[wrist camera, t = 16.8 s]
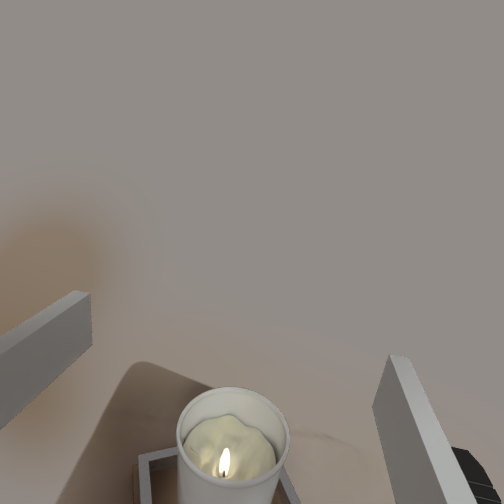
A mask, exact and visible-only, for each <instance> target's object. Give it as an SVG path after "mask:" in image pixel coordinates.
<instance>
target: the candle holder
mask: <svg viewBox="0 0 504 504" xmlns="http://www.w3.org/2000/svg"><path fill="white" fill-rule="evenodd" d="M176 441H177V504H271V503H272V500H273V497H274V494H275V490H276V487H277V484H278V481H279V477H280V474H281V471H282V468H283V464H284V461H285V459H286V457H287V455H288V451H289V447H290V432H289V428H288V424H287V422H286V419H285V418H284V416H283V414H282V413H281V411H280V410H279V409H278V407H276V405H275V404H274V403H272V402H271V401H270V400H269V399H267V398H266V397H264V396H263V395H261V394H259V393H257V392H254V391H252V390H249V389H245V388H240V387H220V388H215V389H211V390H208V391H206V392H203V393H202V394H200V395H198V396H197V397H195V398H194V399H193V400H191V401H190V402H189V403H188V404H187V406H186V407H185V408H184V410H183V411H182V413H181V415H180V417H179V420H178V423H177V428H176Z"/></svg>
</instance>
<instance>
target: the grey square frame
mask: <svg viewBox="0 0 504 504" xmlns="http://www.w3.org/2000/svg"><path fill="white" fill-rule="evenodd" d="M172 468H177V446H176V447H172V448H167V449H163V450H158V451H154V452H149V453H145V454H140V455H138V480H139V499H140V504H152V496H151V485H150V474H152V473H156V472H160V471H164V470H168V469H172ZM276 490H277V493H278V495H279V498H280V500H281V502H282V504H301V502H300V500H299V498H298V496H297V494H296V492H295V490H294V487H293V485H292V483H291V481H290V479H289V477H288V475H287V473H286V471H285V468H284V466H283V468H282V471H281V474H280V477H279V481H278V484H277V487H276Z"/></svg>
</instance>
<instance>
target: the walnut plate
mask: <svg viewBox="0 0 504 504" xmlns="http://www.w3.org/2000/svg"><path fill="white" fill-rule="evenodd" d="M150 485H151V496H152V504H177V468H172V469H168V470H164V471H160V472H156V473H152V474H150ZM133 490H134V504H140V499H139V480H138V464H136V465H133ZM271 504H282V502H281V500H280V498H279V495H278V493H277V490H275V494H274V497H273V500H272V503H271Z"/></svg>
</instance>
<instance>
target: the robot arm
mask: <svg viewBox="0 0 504 504" xmlns="http://www.w3.org/2000/svg"><path fill="white" fill-rule="evenodd" d="M90 297H91V295H90V293H86V292H81V291H77V290H74V291H73V292H71V293H70V294H68V295H66V296H65V297H63V298H61V299H60V300H58V301H57V302H55V303H54V304H52V305H50V306H49V307H47V308H45V309H44V310H42V311H41V312H39V313H37V314H36V315H34V316H33V317H31V318H29V319H28V320H27V321H25V322H23V323H21V324H20V325H18V326H17V327H15V328H14V329H12V330H10V331H9V332H7V333H6V334H4V335H2V336H1V337H0V430H1V429H2V428H3V427H5V426H6V425H7V424H8V423H9V422H10V421H11V420H12V419H13V418H14V417H15V416H16V415H17V414H19V413H20V412H21V411H22V410H23V409H24V408H25V407H26V406H27V405H28V404H29V403H30V402H31V401H33V400H34V399H35V398H36V397H37V396H38V395H39V394H40V393H41V392H42V391H43V390H44V389H45V388H47V387H48V386H49V385H50V384H51V383H52V382H53V381H54V380H55V379H56V378H57V377H58V376H59V375H60V374H62V373H63V372H64V371H65V370H66V369H67V368H68V367H69V366H70V365H71V364H72V363H73V362H74V361H76V360H77V359H78V358H79V357H80V356H81V355H82V354H83V353H84V352H85V351H86V350H87V349H88V348H89V347H90V346H92V322H91V298H90ZM372 408H373V412H374V416H375V421H376V425H377V429H378V433H379V437H380V441H381V445H382V449H383V453H384V457H385V461H386V466H387V470H388V474H389V478H390V482H391V486H392V490H393V494H394V498H395V502H396V504H501V500H500V498H499V496H498V494H497V492H496V490H495V489H493V485H492V483H491V481H490V479H489V478H488V476H487V474H486V472H485V470H484V469H483V467H482V466H481V465H480V464H479V462H478V461H477V460H476V459H475V458H474V457H473V456H472V455H471V454H470V453H469V451H468V450H463V449H459V448H455V447H450V445H449V443H448V440H447V438H446V436H445V434H444V432H443V430H442V428H441V426H440V423H439V421H438V419H437V417H436V415H435V413H434V411H433V409H432V407H431V405H430V402H429V400H428V398H427V396H426V394H425V392H424V390H423V388H422V385H421V383H420V381H419V379H418V377H417V375H416V373H415V371H414V369H413V366H412V364H411V362H410V360H409V358H406V357H401V356H396V355H391V354H389V356H388V359H387V362H386V365H385V369H384V372H383V374H382V378H381V381H380V384H379V387H378V390H377V393H376V396H375V399H374V403H373V406H372Z"/></svg>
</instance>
